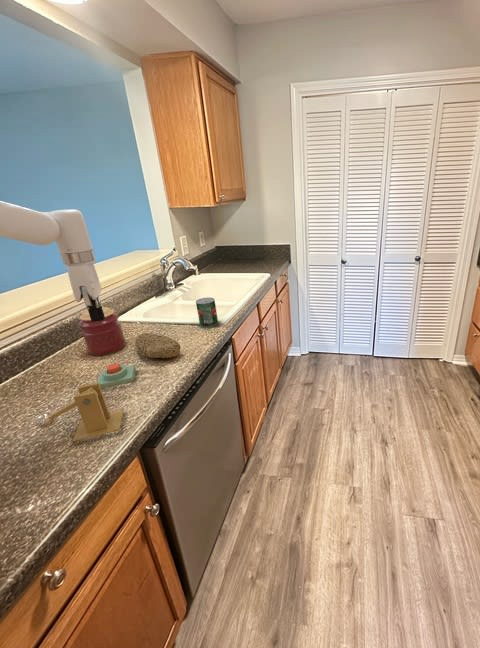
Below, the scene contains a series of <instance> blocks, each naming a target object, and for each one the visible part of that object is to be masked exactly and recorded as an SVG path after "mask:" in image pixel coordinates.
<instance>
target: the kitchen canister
mask: <svg viewBox="0 0 480 648" xmlns="http://www.w3.org/2000/svg"><path fill="white" fill-rule="evenodd" d="M102 310H103V313H104V316H105V318H104V320H102V321H96V322H92V321H91V318H90V315H89V312H88V309H86V310H85V311H84V312H83V313H82V314H81V315H80V316H79V320H80V321H78V326H79V327H80V328H81V334H82V336H83V339H84V341H85V345H86V350H87V351H88V353H89V354H90V355H92V356H104V355H109V354H113V353H115V352H118V351H119V350H121V349H123V348H124V347H125V346H126V337H125V335H124V332H123V329H122V323H121V322H120V321H119V317H120V316H119V315H118V314H117V313H116V312H115V309H113V308H110V307H107V306H102Z"/></svg>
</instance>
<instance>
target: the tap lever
mask: <svg viewBox="0 0 480 648" xmlns="http://www.w3.org/2000/svg"><path fill="white" fill-rule="evenodd" d="M92 391H95V390H94V389H93V388H92V387H91V388H89V389H87V390H86V391H84V392H82V393H81V394H83V393H87V392H92ZM96 393H97V392H96ZM97 396H98V393H97ZM75 407H77V405H76V402H75V400H73V401H72V402H70V403H68V404H66V405H65V406H63V407H61V408H59V409H58V410H56V411H54V412H52V413H51V412H43V413H41V414H39V415H38V416H37V417H36V419H35V425H36V426H37V427H38V428H40V429H48V428H50V427H52V426H53V425H54V423H55V421H56V418H58V417H60V416H61V415H63V414H65V413H67V412H68V411H70V410H72V409H74V408H75Z"/></svg>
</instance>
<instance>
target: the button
mask: <svg viewBox="0 0 480 648" xmlns="http://www.w3.org/2000/svg"><path fill="white" fill-rule="evenodd" d="M120 365H121V364H120V363H118V362H117V363H116V362H115V363H111V364H109V365H108V366H107V367H106V369H107V371H108V373H109V374H113V373H116V372H119V371H120V370H121V367H120Z"/></svg>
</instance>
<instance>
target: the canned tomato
mask: <svg viewBox="0 0 480 648" xmlns="http://www.w3.org/2000/svg"><path fill="white" fill-rule="evenodd" d="M195 306H196V311H197V316H198V322H199V326H200V327H201V328H213V327H216V326H218V324H219V319H218V318H219V317H218V312H217V306H216V301H215V298H214V297H201V298H199V299H197V300H195Z"/></svg>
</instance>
